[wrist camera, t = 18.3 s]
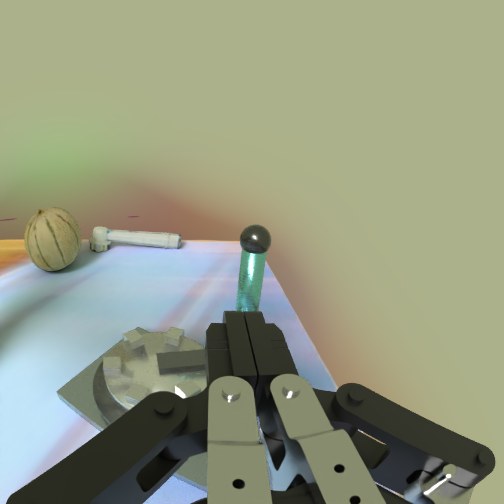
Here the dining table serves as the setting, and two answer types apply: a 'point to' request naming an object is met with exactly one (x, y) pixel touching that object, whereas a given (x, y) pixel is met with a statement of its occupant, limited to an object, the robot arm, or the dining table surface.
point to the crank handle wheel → (179, 341)
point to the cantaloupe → (52, 239)
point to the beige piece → (132, 239)
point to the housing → (117, 412)
